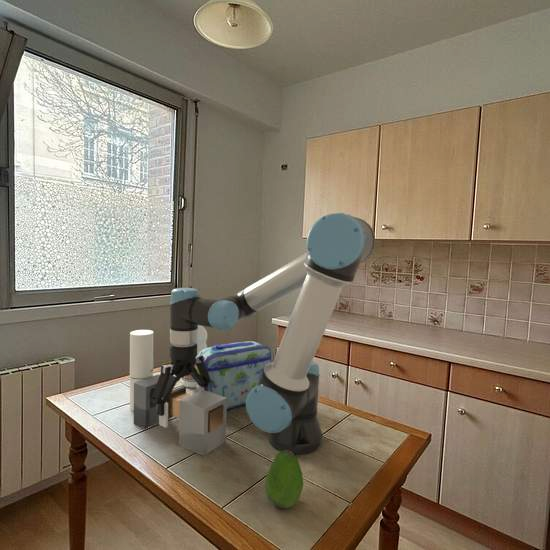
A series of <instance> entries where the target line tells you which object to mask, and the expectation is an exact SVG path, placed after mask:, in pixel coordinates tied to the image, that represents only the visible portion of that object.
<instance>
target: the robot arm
mask: <svg viewBox="0 0 550 550" xmlns="http://www.w3.org/2000/svg"><path fill="white" fill-rule="evenodd" d="M375 247H376V234H375V232H374V229H373V228H372V226H371V225H370V224H369V223H368V222H367V221H365V220H364V219H361V218H359V217H356V216H352V215H351V214H347V213H344V212H336V213H335V212H334V213H329V214H326V215H323V216H321V217H320V218H319V219H317V220H316V221H315V222H314V223H313V224H312V226H311V228H310V229H309V230H308V234H307V237H306V249H307V252H305V253H303V254H302V255H300V256H299V257H297V258H295V259H293V260H292V261H289V263H286V264H285V265H283V266H281V267H279V268H278V269H276V270H275V271H273V272H271V273H269V274H268V275H266V276H264V277H263V278H261V279H259V280H257V281H255V282H254V283H252V284H251V285H249V286H247V287H245V288H244V289H242V290H240V291H239V292H236V293H235V294H231V295H227V296H223V297H218V298H208V297H206V298H205V297H200V295H199V294H200V293H199V290H198V289H196V288H193V287H176V288H173V289H172V290H171V293H170V302H169V308H170V309H169V311H170V315H169V317H170V322H169V323H170V325H169V342H170V345H169V357H170V360H171V362H170V364H169V365H165V364H162V365H161V367H160V374H159V375H160V376H159V379H158V382H157V384H156V387H155V390H154V392H153V395H152V398H151V402H153V403H155V404H157V414H158V415H159V423H158V425H159V426H161V427H162V428H163V427H164V428H168V427H169V419H168V403H166V401H167V399H168V397H169V396H170V394H171V392H172V390H173V389H175V386H176V385H177V383H178V382H179V381H180V380H181V379H182V378H183V377H184V376H188V375H191V376H192V378H193V379H194V380H195V381H196V382H197V384H198V385H199V386H198V385H197V386H196V388H195V393H197V392H199V391H201V390H205V387H208V383H210V381H211V379H210V377H209V374H208V371H207V369H206V366H205V364H204V356H202V355H198V354H197V344H196V343H197V342H198V325H200V326H203V327H206V328H213V329H217V330H231V329H233V328H234V326H235V325H236V324H237V322H238V321H241V320H245V319H248V318H250V317H252V316H253V315H255V313H257V312H259V311H260V310H262V309H264V308H266V307H267V306H269V305H271V304H273V303H275V302H277V301H279V300H281V299H283V298H285V297H286V296H288V295H290V294H292V293H294V292H295V291H298V290H300V292H299V294H298V297H297V300H296V302H295V305H294V307H293V310H292V313H291V316H290V318H289V321H288V323H287V326H286V328H285V331H284V333H283V336H282V338H281V341H280V343H279V346H278V349H277V351H276V354H275V356H274V359H273V361H271V363H268V364H267V365H266V366H265V368H264V370H263V373H262V375H261V378H260V380H259V383H258V385H257V386H256V387H254V388H253V389H252V390H251V391H250V392H249V394H248V395H247V398H246V404H245V410H246V413H247V414H248V416H249V420H251V423H253V424H254V425H255V426H256V428H257V429H259V430H261V431H263V432H266V433H268V442H269V443H270V445H271V446H272V447H273V448H275V449H276V450H278V451H279V452H280V451H282V450H288V451H290V452H292V453H293V454H294V455H305V454H309V453H313V452H315V451H317V450H319V449H320V448H321V446H322V444H323V432H322V428H321V424H320V421H319V417H318V402H319V388H320V387H319V384H320V383H319V381H320V376H321V374H320V366H319V365H318V363H317V362H315V361H313V360H314V358H315V355H316V353H317V350H318V349H319V346H320V343H321V341H322V338H323V336H324V334H325V331H326V329H327V326H328V325H329V321H330V320H331V316H332V314H333V312H334V311H335V310H334V309H335V308H336V304H337V302H338V301H339V298H340V295H341V293H342V290H343V288H344V287H345V286H347V285H350V284H352V283H353V282H354V280H355V277H356V275H357V272H358V270H359V267H360V264H362V263H364V262H365V261H367V259H369V258H370V257H371V256H372V254H373V252H374V249H375ZM195 363H196V366H197V368H198V371H199V373H200V374H199V373H198V372H197V370H196V368H195V367H194V365H195ZM162 398H163V399H162Z"/></svg>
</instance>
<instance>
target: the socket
mask: <svg viewBox="0 0 550 550" xmlns="http://www.w3.org/2000/svg"><path fill="white" fill-rule="evenodd" d="M159 376H160V374H155V375H153V376H152V377H149V378H146V379H143V380H140V381H137V382H135V383H134V411H133V424H134V425H135V426H138V427H140V428H142V427H143V428H142V429H144V428H145V430H147V429H149V428H151V427H153V426H155V425H157V424H159V423H158V422H159V415H158V414H157V404H155V403H153V402H151V398H152V395H153V392H154V390H155V387H156V384H157V382H158V379H159ZM154 424H155V425H154ZM150 426H151V427H150ZM148 427H149V428H148ZM146 428H147V429H146Z"/></svg>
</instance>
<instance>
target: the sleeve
mask: <svg viewBox="0 0 550 550" xmlns="http://www.w3.org/2000/svg"><path fill="white" fill-rule="evenodd" d="M220 405H221V406H224V409H223V424H222V425H221V426H219V427H217V428H216V429H214V430H212V431H211V432H210V431H208V412H209V411H211V410H212V409H214V408H216V407H218V406H220ZM227 410H228V409H227V398H226V397H223V396H220V395H217V394H214V393H211V392H208V391H205V390H201V391H199V392H197V393H196V392H195V393H192V394H190V396H188V397H185V398H183V399H181V400H180V413H179V418H178V420H179V421H178V422H179V427H178V445H179V446H181V447H183V448H185V449H187V450H189V451H191V452H193V453H195V454H198V455H200V456H202V457H204V456H206V455H209V453H211V452H212V451H214V450H216V449H217V448H218V447H220V446H222V445H224V443H226V442H227V438H226V437H227V413H228V412H227ZM225 441H226V442H225Z"/></svg>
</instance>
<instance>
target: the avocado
mask: <svg viewBox="0 0 550 550" xmlns="http://www.w3.org/2000/svg"><path fill="white" fill-rule="evenodd" d="M265 476H266V477H265V483H264V484H265V490H266V495H267V498H268V500H269V501H270V502H271V503H272V504H273V505H274V506H276V507H278V508H280V509H288V508H291V507H293V506H294V505H295V504H296V503H297V502H298V500H299V498H300V496H301V493H302V492H303V491H302V490H303V488H304V478H303V472H302V467H301V466H300V463H299V460H298V457H297V456H296V454H293V453H292V452H290V451H288V450H282V451H280V450H279V452H278V453H277V454H276V456H275V457H274V459H273V460H272V463H271V465H270V466H269V470H268V472H267V473H266V475H265Z"/></svg>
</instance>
